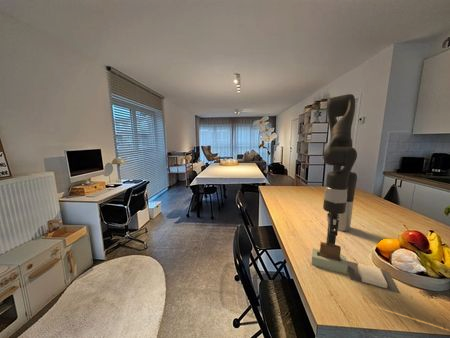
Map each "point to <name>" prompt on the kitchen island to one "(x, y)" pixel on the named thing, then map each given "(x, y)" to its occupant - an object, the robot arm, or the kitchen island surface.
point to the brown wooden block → (330, 249)
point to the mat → (356, 277)
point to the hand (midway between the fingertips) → (330, 237)
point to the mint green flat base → (329, 262)
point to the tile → (372, 275)
